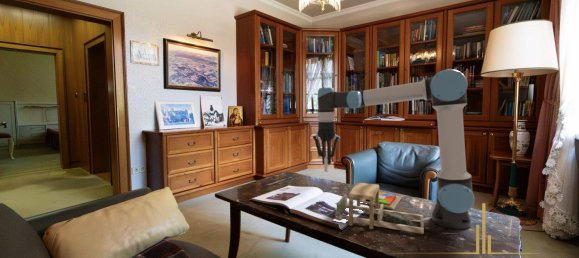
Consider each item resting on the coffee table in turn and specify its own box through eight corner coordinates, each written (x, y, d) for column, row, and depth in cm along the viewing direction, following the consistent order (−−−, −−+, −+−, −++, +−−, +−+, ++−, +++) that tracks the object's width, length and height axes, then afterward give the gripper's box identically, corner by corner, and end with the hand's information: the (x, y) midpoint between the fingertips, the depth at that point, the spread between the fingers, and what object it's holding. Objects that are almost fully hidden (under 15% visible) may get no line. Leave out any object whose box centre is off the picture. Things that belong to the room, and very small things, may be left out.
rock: (414, 226, 118) (414, 213, 118) (395, 232, 113) (395, 217, 113) (396, 219, 126) (396, 206, 126) (378, 224, 121) (379, 211, 121)
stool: (378, 213, 133) (379, 184, 131) (372, 229, 116) (373, 196, 115) (357, 210, 137) (357, 182, 135) (348, 225, 120) (349, 193, 119)
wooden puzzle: (358, 204, 147) (358, 197, 146) (370, 194, 162) (370, 188, 162) (392, 211, 137) (393, 204, 136) (402, 200, 152) (402, 193, 152)
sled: (423, 219, 123) (423, 204, 122) (423, 233, 110) (424, 216, 109) (344, 208, 138) (344, 194, 137) (336, 219, 124) (336, 204, 124)
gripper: (342, 120, 131) (342, 170, 133) (315, 120, 136) (316, 168, 138) (337, 121, 124) (338, 174, 126) (310, 121, 129) (311, 171, 131)
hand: (326, 171), depth 132 cm, fingers closed
